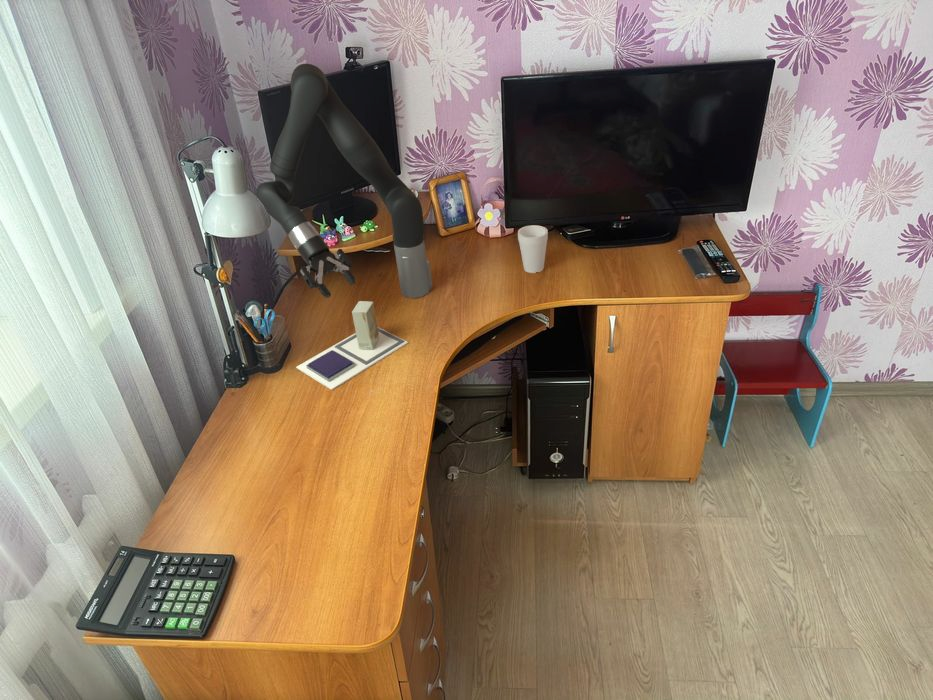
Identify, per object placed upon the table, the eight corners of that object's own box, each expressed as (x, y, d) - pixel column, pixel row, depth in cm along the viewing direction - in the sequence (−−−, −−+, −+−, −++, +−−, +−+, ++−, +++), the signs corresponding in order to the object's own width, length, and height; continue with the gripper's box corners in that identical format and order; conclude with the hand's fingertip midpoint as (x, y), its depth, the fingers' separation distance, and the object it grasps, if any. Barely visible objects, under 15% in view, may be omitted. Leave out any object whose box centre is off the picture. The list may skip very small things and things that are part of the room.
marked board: (371, 324, 206) (371, 322, 206) (408, 343, 197) (407, 341, 196) (296, 368, 191) (295, 366, 191) (331, 390, 182) (331, 388, 181)
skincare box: (373, 350, 195) (366, 313, 188) (358, 349, 195) (350, 312, 189) (380, 337, 200) (373, 300, 193) (366, 336, 201) (358, 300, 194)
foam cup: (520, 261, 231) (518, 225, 224) (548, 261, 230) (547, 224, 223) (519, 275, 224) (517, 238, 216) (548, 275, 222) (547, 237, 215)
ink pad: (333, 353, 195) (332, 348, 194) (355, 365, 189) (354, 361, 188) (306, 368, 190) (305, 363, 189) (329, 381, 184) (328, 377, 183)
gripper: (290, 245, 187) (324, 295, 187) (332, 226, 195) (365, 273, 195) (283, 258, 193) (317, 306, 193) (324, 239, 201) (356, 285, 201)
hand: (341, 290), depth 194 cm, fingers open, 8 cm apart
